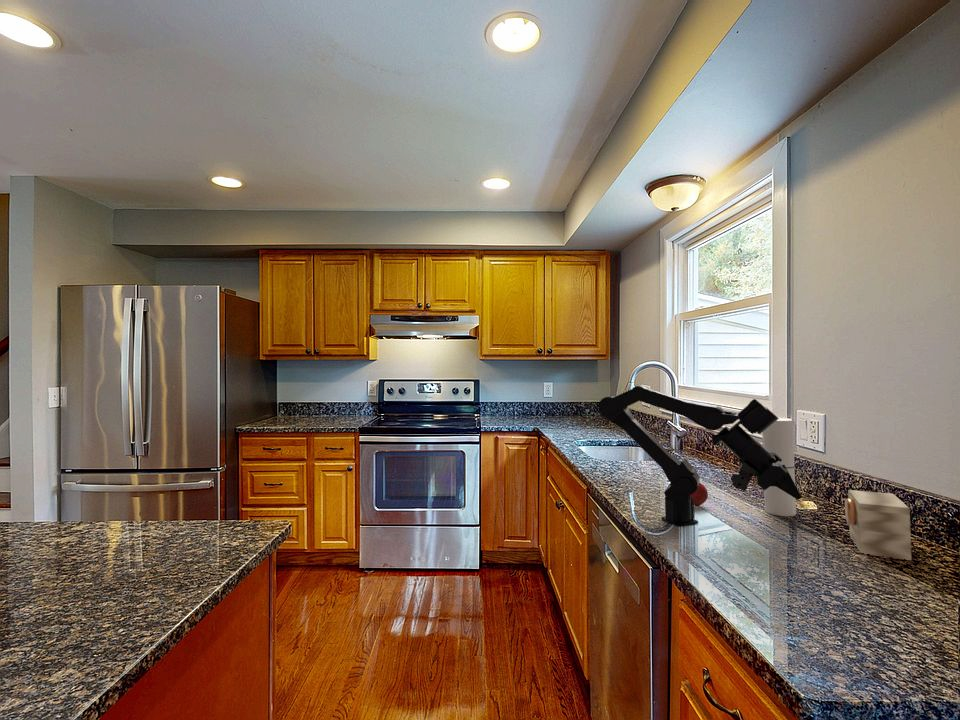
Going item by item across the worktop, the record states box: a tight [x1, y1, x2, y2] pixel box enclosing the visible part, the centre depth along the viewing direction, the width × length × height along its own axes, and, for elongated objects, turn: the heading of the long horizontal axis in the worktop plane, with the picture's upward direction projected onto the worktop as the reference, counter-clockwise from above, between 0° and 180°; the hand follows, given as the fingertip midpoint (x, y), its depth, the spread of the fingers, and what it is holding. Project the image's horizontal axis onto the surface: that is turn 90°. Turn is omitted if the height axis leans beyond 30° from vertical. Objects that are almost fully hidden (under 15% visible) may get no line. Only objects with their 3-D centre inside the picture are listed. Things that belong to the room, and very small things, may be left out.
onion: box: [689, 481, 709, 508], centre depth 134 cm, size 6×6×8 cm
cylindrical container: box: [761, 417, 797, 517], centre depth 128 cm, size 7×7×25 cm
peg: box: [844, 498, 857, 526], centre depth 102 cm, size 9×6×6 cm, turn 61°
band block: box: [847, 489, 912, 561], centre depth 102 cm, size 8×12×10 cm, turn 151°
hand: (800, 498), depth 109 cm, fingers closed
